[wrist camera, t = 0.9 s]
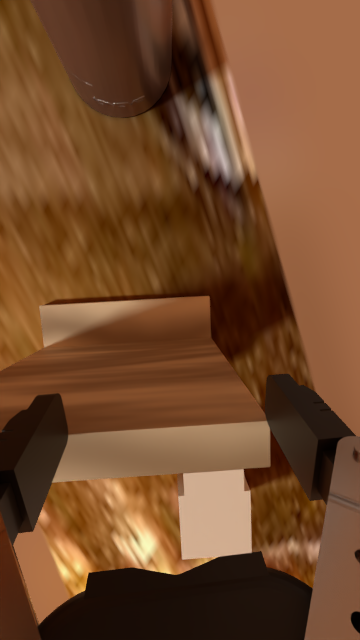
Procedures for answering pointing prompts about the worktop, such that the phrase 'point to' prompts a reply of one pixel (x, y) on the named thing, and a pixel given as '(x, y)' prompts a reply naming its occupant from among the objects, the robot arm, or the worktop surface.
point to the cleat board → (139, 390)
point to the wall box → (214, 513)
